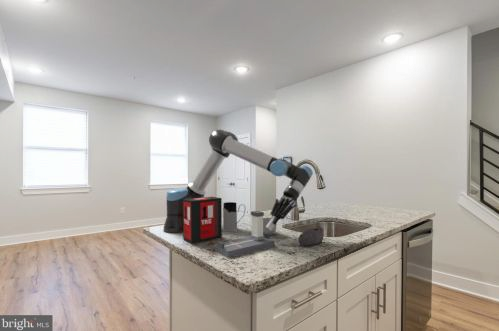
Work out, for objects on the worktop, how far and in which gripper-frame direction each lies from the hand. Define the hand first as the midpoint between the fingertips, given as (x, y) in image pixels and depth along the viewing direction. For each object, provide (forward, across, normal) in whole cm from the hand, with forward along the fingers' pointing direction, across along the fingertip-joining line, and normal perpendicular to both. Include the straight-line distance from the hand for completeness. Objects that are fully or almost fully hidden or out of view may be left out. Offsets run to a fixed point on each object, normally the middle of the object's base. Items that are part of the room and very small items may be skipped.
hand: (268, 228), depth 115 cm
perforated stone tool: (-5, -14, -14) cm, 21 cm away
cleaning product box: (+20, +24, +11) cm, 33 cm away
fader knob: (+7, 0, +2) cm, 7 cm away
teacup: (-2, +13, -12) cm, 18 cm away
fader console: (+14, 0, +5) cm, 15 cm away
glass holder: (+4, +32, -6) cm, 33 cm away
